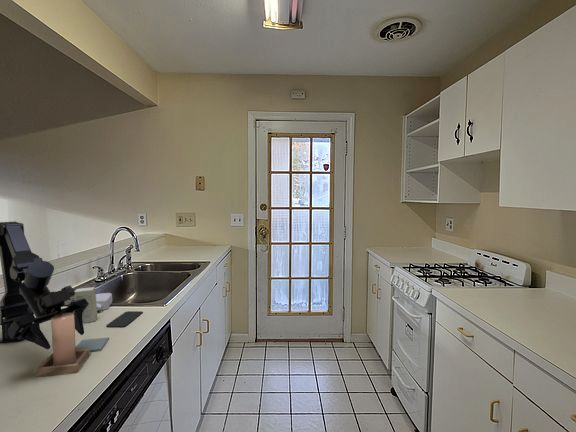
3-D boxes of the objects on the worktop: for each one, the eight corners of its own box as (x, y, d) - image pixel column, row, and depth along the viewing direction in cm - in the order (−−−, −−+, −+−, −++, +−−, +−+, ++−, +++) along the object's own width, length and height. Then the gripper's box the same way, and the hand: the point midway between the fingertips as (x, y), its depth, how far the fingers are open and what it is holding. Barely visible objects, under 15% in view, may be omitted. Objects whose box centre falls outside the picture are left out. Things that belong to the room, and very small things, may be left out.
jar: (49, 371, 85) (47, 320, 84) (58, 361, 90) (56, 313, 89) (71, 369, 86) (69, 319, 86) (79, 359, 91) (77, 312, 91)
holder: (36, 377, 83) (35, 369, 82) (53, 359, 92) (53, 352, 92) (77, 372, 85) (77, 365, 85) (90, 355, 94) (90, 348, 94)
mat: (71, 353, 95) (71, 351, 95) (81, 341, 103) (81, 339, 103) (101, 350, 97) (101, 348, 97) (109, 339, 105) (109, 337, 104)
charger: (77, 317, 123) (88, 305, 137) (103, 315, 126) (112, 303, 140) (76, 306, 123) (88, 294, 137) (103, 303, 126) (112, 292, 140)
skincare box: (97, 317, 123) (96, 286, 122) (94, 321, 119) (93, 289, 118) (78, 319, 121) (77, 288, 120) (74, 324, 117) (73, 291, 116)
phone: (144, 311, 129) (125, 326, 114) (144, 313, 129) (125, 328, 114) (125, 311, 129) (104, 326, 114) (126, 313, 129) (104, 328, 114)
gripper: (12, 288, 80) (43, 338, 76) (83, 271, 97) (111, 311, 94) (-6, 314, 83) (23, 363, 80) (66, 294, 100) (93, 333, 97)
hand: (66, 340), depth 87 cm, fingers open, 9 cm apart
